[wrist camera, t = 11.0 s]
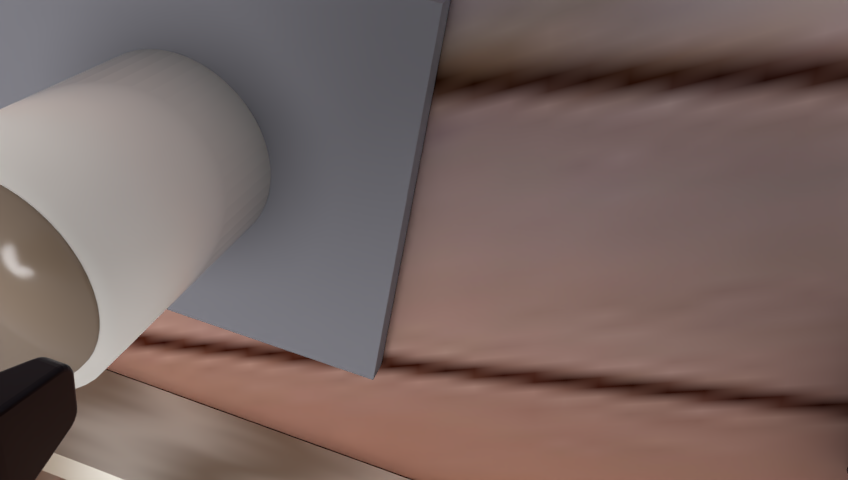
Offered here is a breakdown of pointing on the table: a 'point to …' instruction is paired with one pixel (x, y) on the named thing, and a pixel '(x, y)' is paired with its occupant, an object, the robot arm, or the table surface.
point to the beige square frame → (182, 442)
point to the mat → (281, 145)
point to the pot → (118, 203)
